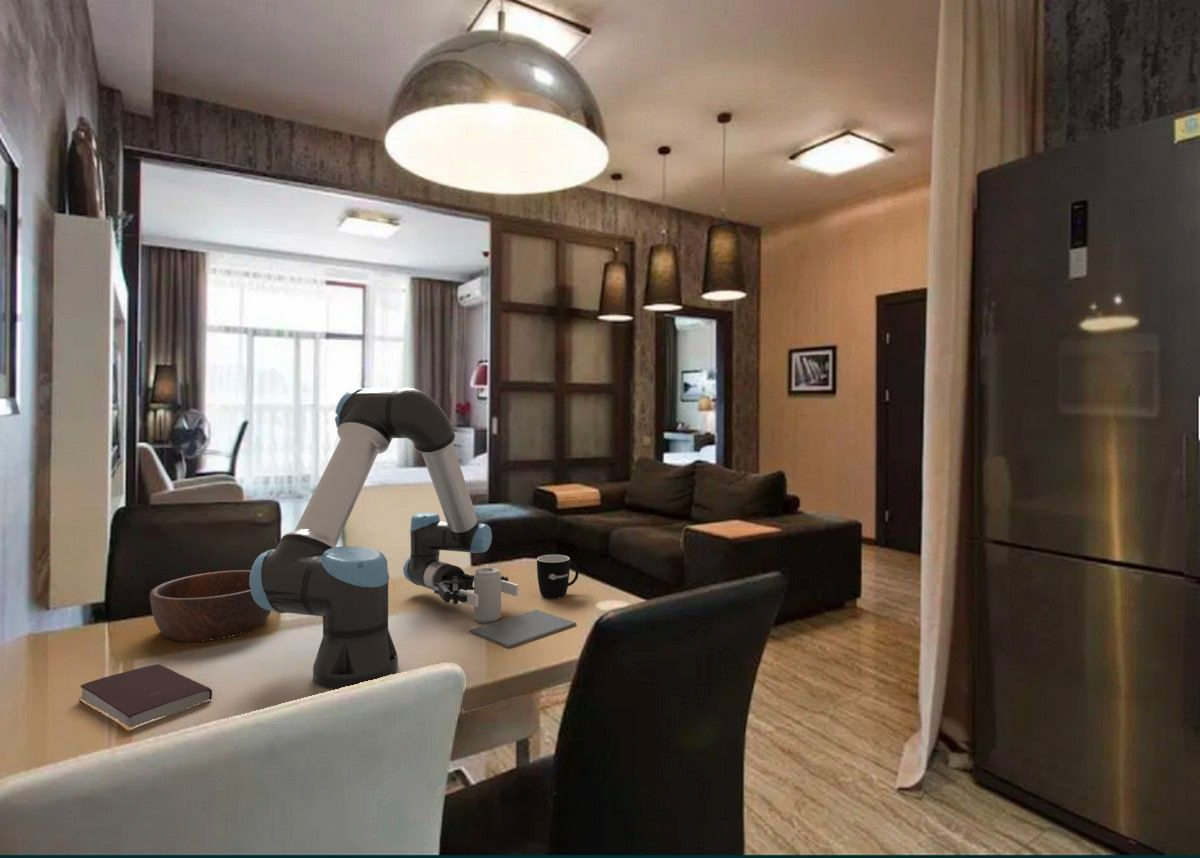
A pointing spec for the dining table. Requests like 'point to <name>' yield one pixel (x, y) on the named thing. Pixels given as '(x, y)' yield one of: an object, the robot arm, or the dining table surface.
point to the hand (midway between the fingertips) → (497, 595)
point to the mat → (522, 628)
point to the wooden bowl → (206, 606)
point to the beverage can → (487, 595)
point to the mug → (554, 575)
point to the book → (144, 694)
